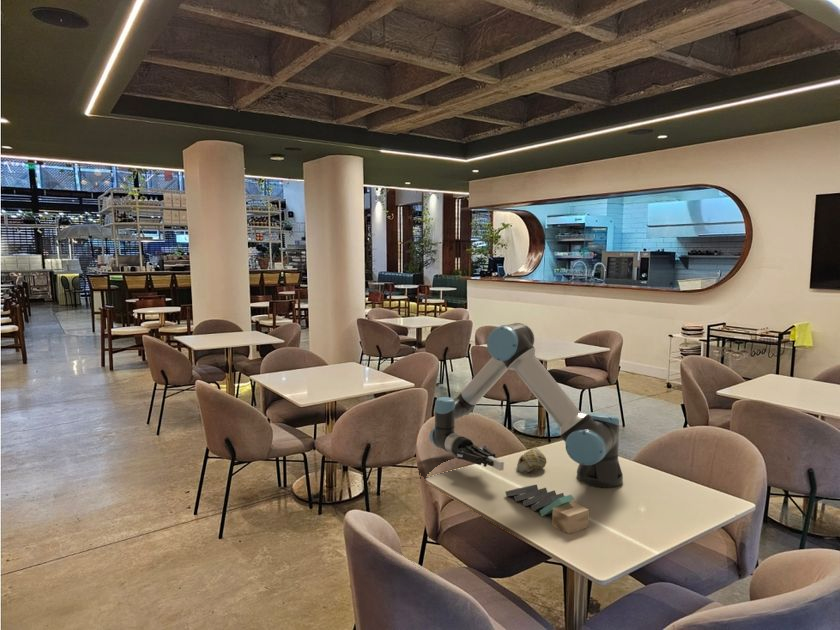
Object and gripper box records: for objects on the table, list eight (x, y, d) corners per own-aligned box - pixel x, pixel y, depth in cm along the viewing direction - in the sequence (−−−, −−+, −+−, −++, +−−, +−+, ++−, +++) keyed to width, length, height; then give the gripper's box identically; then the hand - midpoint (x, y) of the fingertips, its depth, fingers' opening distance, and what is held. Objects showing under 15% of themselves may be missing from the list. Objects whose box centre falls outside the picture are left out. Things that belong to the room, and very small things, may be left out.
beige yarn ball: (514, 470, 191) (516, 442, 195) (519, 474, 199) (521, 447, 203) (542, 473, 187) (544, 445, 191) (547, 477, 195) (548, 449, 199)
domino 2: (514, 496, 168) (533, 491, 160) (525, 493, 170) (545, 487, 162) (515, 501, 167) (535, 496, 159) (527, 498, 170) (547, 492, 162)
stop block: (552, 525, 152) (552, 508, 151) (572, 518, 156) (572, 501, 156) (568, 533, 147) (568, 516, 146) (588, 526, 151) (588, 509, 150)
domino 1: (505, 491, 171) (524, 487, 163) (517, 488, 174) (536, 484, 166) (506, 496, 171) (526, 493, 163) (518, 493, 173) (538, 489, 165)
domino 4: (530, 505, 161) (550, 496, 154) (542, 502, 164) (562, 492, 156) (532, 511, 160) (552, 501, 153) (545, 507, 163) (565, 498, 156)
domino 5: (539, 510, 158) (558, 498, 151) (551, 506, 161) (571, 494, 154) (542, 516, 157) (561, 503, 150) (554, 512, 160) (573, 499, 153)
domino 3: (522, 501, 164) (542, 493, 157) (534, 497, 167) (554, 490, 159) (524, 506, 164) (544, 499, 156) (536, 502, 166) (556, 495, 159)
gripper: (473, 452, 200) (516, 473, 180) (444, 459, 193) (486, 481, 173) (473, 433, 199) (516, 451, 179) (444, 439, 192) (486, 458, 172)
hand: (501, 466), depth 176 cm, fingers closed
